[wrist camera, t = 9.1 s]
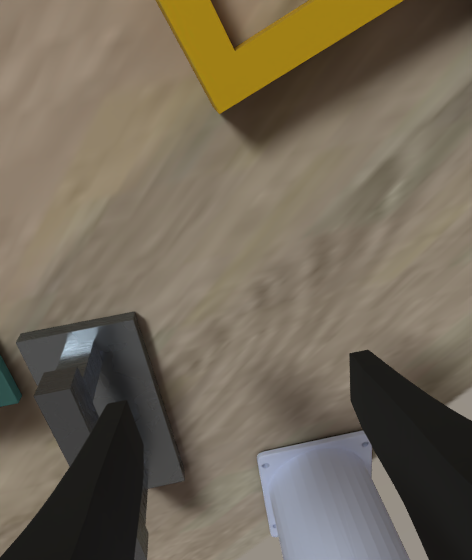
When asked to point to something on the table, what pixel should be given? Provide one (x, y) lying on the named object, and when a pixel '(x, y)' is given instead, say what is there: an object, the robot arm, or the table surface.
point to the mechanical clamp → (260, 42)
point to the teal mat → (7, 387)
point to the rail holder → (102, 393)
